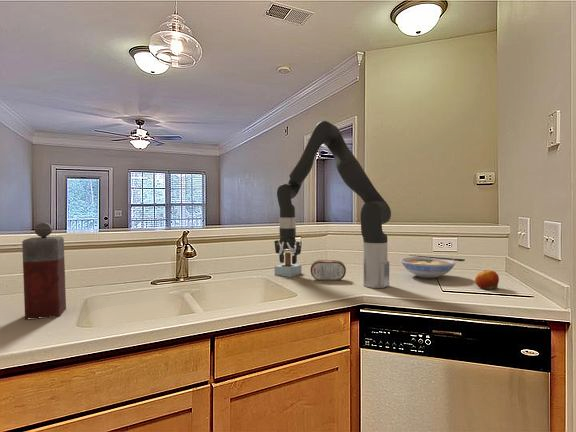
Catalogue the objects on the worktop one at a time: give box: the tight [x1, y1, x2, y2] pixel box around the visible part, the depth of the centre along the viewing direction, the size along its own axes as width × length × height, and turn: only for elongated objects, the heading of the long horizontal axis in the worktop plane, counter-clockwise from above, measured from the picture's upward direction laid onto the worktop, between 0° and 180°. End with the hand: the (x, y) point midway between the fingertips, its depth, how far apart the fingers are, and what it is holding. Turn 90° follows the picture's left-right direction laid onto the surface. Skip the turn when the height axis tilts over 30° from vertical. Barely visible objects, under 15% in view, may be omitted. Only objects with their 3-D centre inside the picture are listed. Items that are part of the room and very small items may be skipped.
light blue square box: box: [273, 263, 303, 278], centre depth 171 cm, size 9×9×4 cm
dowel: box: [284, 251, 292, 267], centre depth 171 cm, size 3×3×10 cm
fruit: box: [474, 269, 500, 290], centre depth 139 cm, size 8×8×8 cm
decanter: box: [21, 222, 67, 320], centre depth 113 cm, size 9×11×28 cm
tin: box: [310, 259, 347, 282], centre depth 157 cm, size 15×3×8 cm, turn 84°
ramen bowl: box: [400, 254, 466, 279], centre depth 161 cm, size 25×23×8 cm
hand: (288, 263), depth 171 cm, fingers open, 6 cm apart
